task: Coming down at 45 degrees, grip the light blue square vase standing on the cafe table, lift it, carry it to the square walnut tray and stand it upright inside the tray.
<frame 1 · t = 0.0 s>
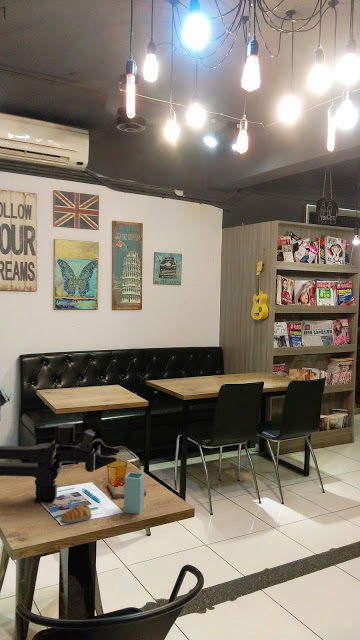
hand: (117, 455, 173), 17 cm above the table, tool horizontal, fingers open, 9 cm apart
light blue square vase: (133, 509, 167), on the table
tray: (126, 490, 183), on the table
pastry: (77, 519, 160), on the table
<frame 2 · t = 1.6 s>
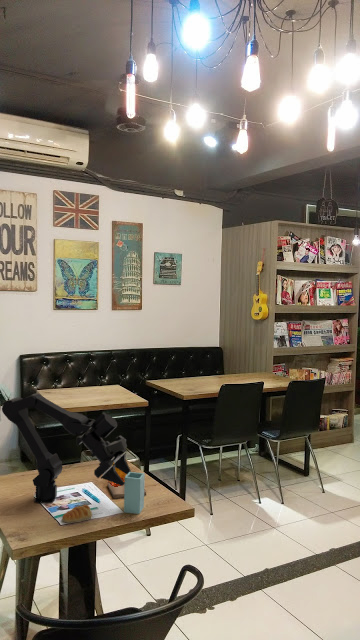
hand: (127, 479, 167), 10 cm above the table, tool tilted 45°, fingers open, 9 cm apart
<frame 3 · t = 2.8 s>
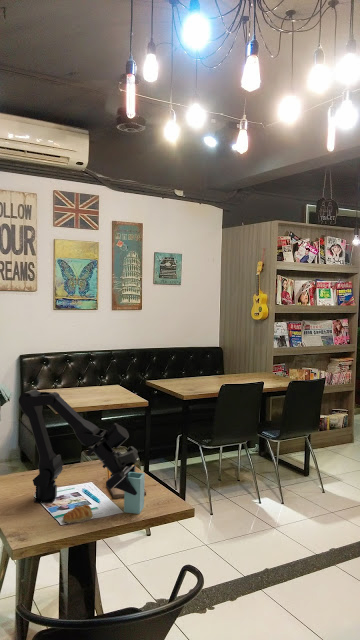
hand: (138, 491, 167), 7 cm above the table, tool tilted 45°, fingers closed on light blue square vase, 5 cm apart
light blue square vase: (134, 509, 167), on the table, touching gripper
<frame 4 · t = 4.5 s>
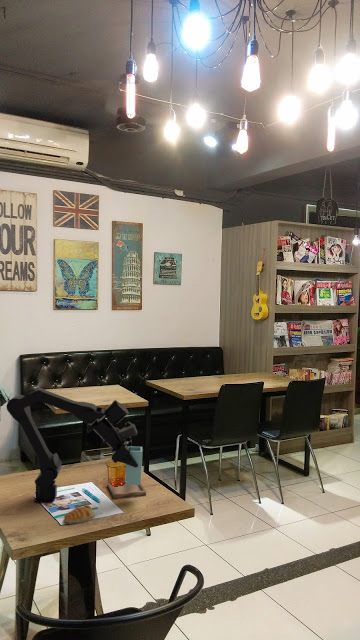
hand: (137, 463, 174), 13 cm above the table, tool tilted 45°, fingers closed on light blue square vase, 5 cm apart
light blue square vase: (133, 481, 175), point 7 cm above the table, touching gripper
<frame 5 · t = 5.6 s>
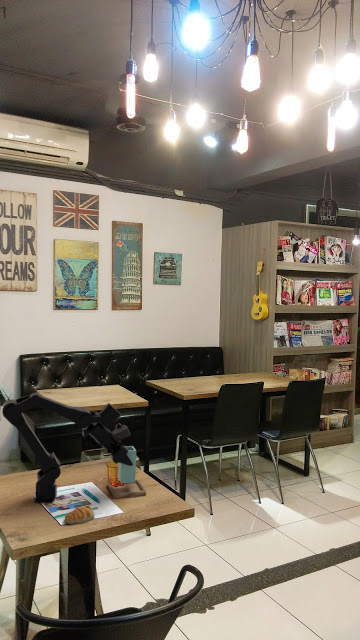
hand: (130, 462, 183), 11 cm above the table, tool tilted 45°, fingers closed on light blue square vase, 5 cm apart
light blue square vase: (126, 480, 183), point 4 cm above the table, touching gripper
when the fingers open (8 cm above the table, at t = 6.4 s): light blue square vase stays where it is, resting on tray.
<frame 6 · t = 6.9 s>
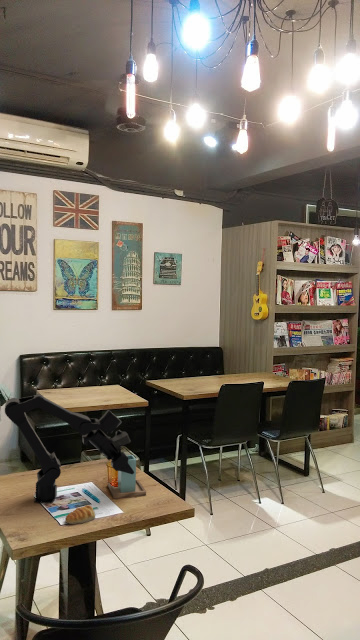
hand: (130, 469, 183), 8 cm above the table, tool tilted 45°, fingers open, 9 cm apart
light blue square vase: (126, 489, 183), point 1 cm above the table, touching tray
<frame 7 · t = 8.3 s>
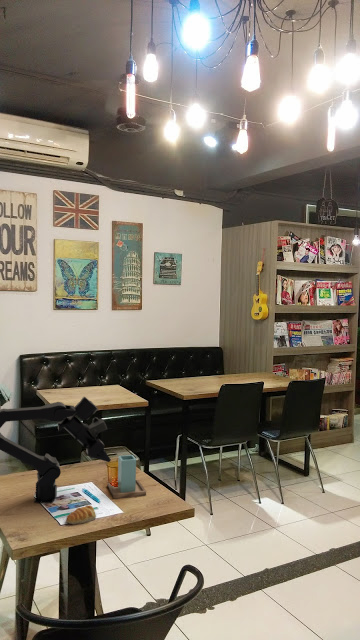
hand: (107, 456, 180), 14 cm above the table, tool tilted 45°, fingers open, 9 cm apart
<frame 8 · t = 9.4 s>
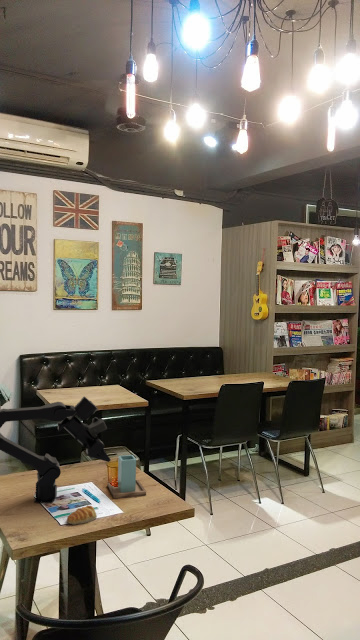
hand: (107, 456, 180), 14 cm above the table, tool tilted 45°, fingers open, 9 cm apart
at the end: light blue square vase inside the target area on the tray (0.0 cm from its centre), point 0.6 cm above the tray's base; light blue square vase tilted 0°; the gripper is holding nothing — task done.
